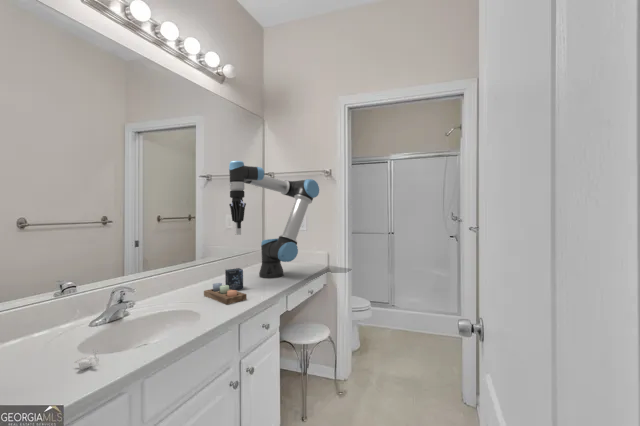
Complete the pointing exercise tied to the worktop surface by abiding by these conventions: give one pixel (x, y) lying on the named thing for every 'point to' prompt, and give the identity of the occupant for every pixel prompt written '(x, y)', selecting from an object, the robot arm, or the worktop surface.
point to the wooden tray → (224, 296)
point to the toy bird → (88, 360)
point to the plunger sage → (224, 289)
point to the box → (234, 278)
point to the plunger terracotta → (232, 293)
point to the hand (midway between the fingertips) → (238, 234)
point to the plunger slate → (216, 287)
